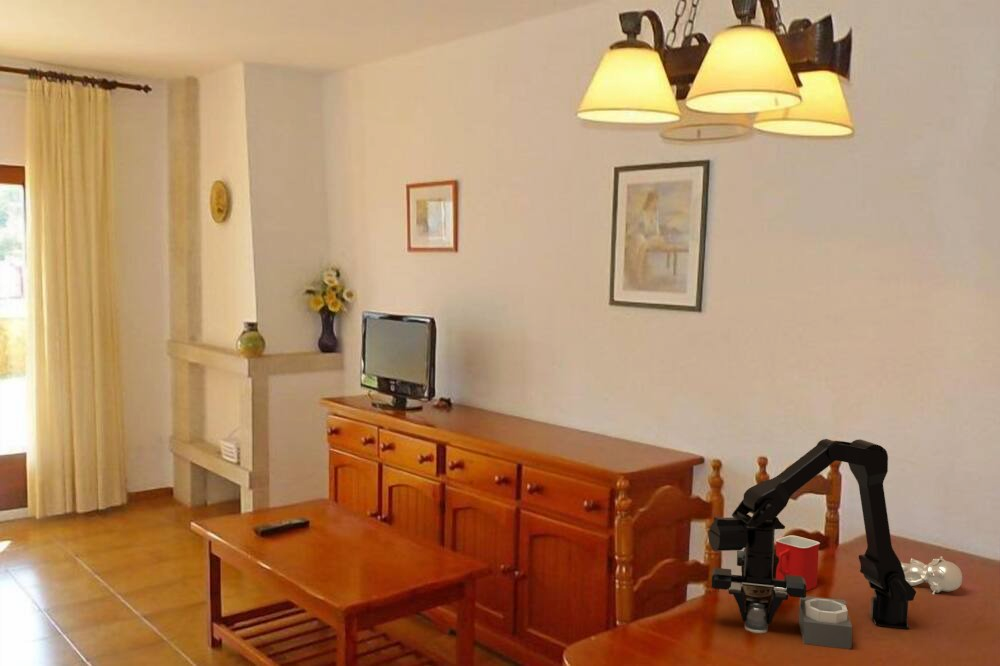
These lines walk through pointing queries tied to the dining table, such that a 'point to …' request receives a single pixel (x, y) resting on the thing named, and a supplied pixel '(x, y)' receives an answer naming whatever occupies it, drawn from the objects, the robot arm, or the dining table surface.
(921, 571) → the figurine
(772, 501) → the robot arm
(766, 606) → the lens
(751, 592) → the coffee cup
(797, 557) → the mug
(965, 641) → the dining table surface
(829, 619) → the camera body
